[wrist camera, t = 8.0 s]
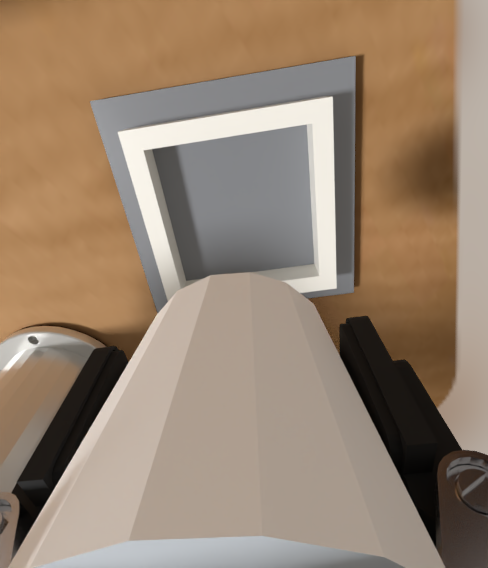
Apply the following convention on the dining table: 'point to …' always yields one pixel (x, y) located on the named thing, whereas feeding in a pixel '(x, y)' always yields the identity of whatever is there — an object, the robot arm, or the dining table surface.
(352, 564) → the white cup
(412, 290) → the dining table surface
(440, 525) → the robot arm
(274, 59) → the dining table surface
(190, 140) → the holder tray
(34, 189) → the dining table surface
